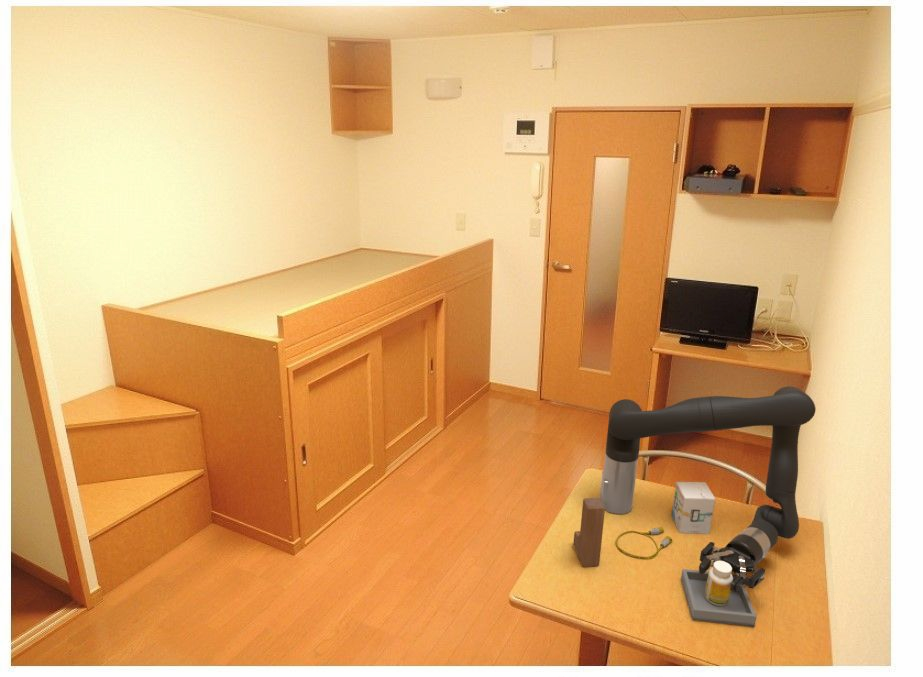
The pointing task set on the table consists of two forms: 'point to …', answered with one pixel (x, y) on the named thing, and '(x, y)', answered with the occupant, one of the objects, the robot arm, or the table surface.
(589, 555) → the wooden block
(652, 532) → the extension cord
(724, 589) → the supplement bottle
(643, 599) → the table surface
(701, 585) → the tray
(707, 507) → the ink box
